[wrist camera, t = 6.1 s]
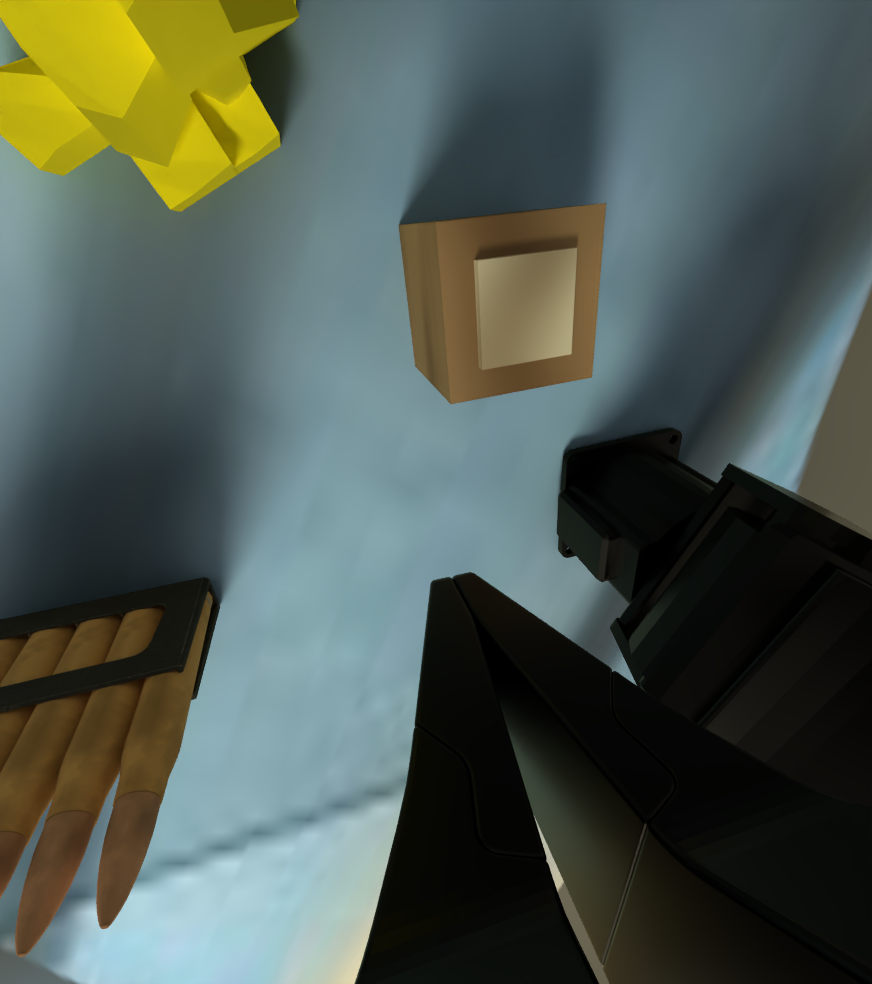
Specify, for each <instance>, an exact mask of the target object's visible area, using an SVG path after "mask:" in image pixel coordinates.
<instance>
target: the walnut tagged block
mask: <svg viewBox="0 0 872 984" xmlns="http://www.w3.org/2000/svg"><path fill="white" fill-rule="evenodd" d="M605 210H606V203H603V204H592V205H582V206H571V207H560V208H549V209H539V210H528V211H519V212H511V213H502V214H493V215H484V216H475V217H466V218H457V219H448V220H439V221H430V222H422V223H413V224H404V225H399V232H400V241H401V249H402V258H403V266H404V275H405V283H406V292H407V300H408V309H409V317H410V326H411V334H412V343H413V351H414V360H415V366H416V368H417V369H418V370H419V371H420V372H421V373H422V374H423V375H424V376H425V377H426V378H427V379H428V380H429V381H430V382H431V384H432V385H433V386H434V387H435V388H436V389H437V390H438V391H439V392H440V393H441V394H442V395H443V396H444V397H445V398H446V400H447V401H448V402H449V403H450V404H454V403H459V402H465V401H470V400H475V399H480V398H486V397H491V396H496V395H501V394H507V393H512V392H517V391H523V390H528V389H533V388H538V387H544V386H549V385H554V384H559V383H565V382H570V381H575V380H581V379H586V378H591V377H592V371H593V359H594V346H595V334H596V321H597V309H598V297H599V284H600V272H601V260H602V247H603V235H604V222H605Z"/></svg>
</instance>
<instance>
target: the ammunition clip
mask: <svg viewBox="0 0 872 984" xmlns="http://www.w3.org/2000/svg"><path fill="white" fill-rule="evenodd" d="M219 609H220V605H219V603H218V600H217V598H216V595H215V593H214V590H213V588H212V585H211V583H210V581H209V579H206V578H204V577H203V578H199V579H194V580H189V581H184V582H179V583H175V584H170V585H165V586H160V587H155V588H150V589H146V590H141V591H136V592H131V593H126V594H122V595H117V596H112V597H107V598H102V599H98V600H93V601H88V602H83V603H78V604H74V605H69V606H64V607H59V608H54V609H50V610H45V611H40V612H35V613H30V614H26V615H21V616H16V617H11V618H6V619H2V620H0V898H1V896H2V894H3V893H4V891H5V889H6V887H7V885H8V883H9V881H10V880H11V878H12V876H13V873H14V871H15V869H16V867H17V865H18V862H19V860H20V858H21V856H22V853H23V851H24V849H25V847H26V846H27V845H28V843H29V841H30V839H31V837H32V835H33V833H34V830H35V828H36V826H37V824H38V822H39V820H40V818H41V816H42V814H43V813H44V811H45V810H46V808H47V807H48V805H49V804H50V802H51V801H52V799H53V801H52V804H51V806H50V809H49V812H48V814H47V817H46V820H45V824H44V828H43V831H42V833H41V836H40V838H39V841H38V843H37V846H36V849H35V851H34V854H33V857H32V860H31V863H30V867H29V870H28V873H27V877H26V880H25V883H24V888H23V892H22V896H21V901H20V906H19V911H18V918H17V924H16V934H15V946H16V954H17V956H18V957H23V956H25V955H27V954H28V953H29V952H30V951H31V949H32V948H33V947H34V946H35V944H36V943H37V942H38V940H39V939H40V938H41V936H42V935H43V933H44V932H45V930H46V929H47V927H48V926H49V924H50V922H51V921H52V919H53V917H54V916H55V914H56V912H57V910H58V909H59V907H60V905H61V903H62V901H63V899H64V898H65V896H66V894H67V892H68V890H69V888H70V886H71V884H72V882H73V879H74V877H75V875H76V872H77V870H78V868H79V866H80V863H81V861H82V859H83V856H84V854H85V851H86V848H87V845H88V842H89V840H90V837H91V834H92V831H93V828H94V826H95V825H96V823H97V820H98V818H99V815H100V812H101V810H102V807H103V804H104V802H105V799H106V797H107V795H108V793H109V791H110V790H111V788H112V786H113V784H114V782H115V780H116V778H117V776H118V775H119V772H120V778H119V783H118V787H117V791H116V795H115V799H114V802H113V810H112V814H111V817H110V821H109V824H108V827H107V831H106V835H105V839H104V844H103V849H102V854H101V859H100V865H99V872H98V881H97V900H96V904H97V916H98V922H99V926H100V927H101V929H106V928H108V927H109V926H110V925H111V924H112V922H113V921H114V920H115V918H116V917H117V915H118V913H119V912H120V910H121V909H122V907H123V905H124V903H125V901H126V900H127V898H128V896H129V894H130V891H131V889H132V887H133V885H134V883H135V881H136V878H137V876H138V874H139V871H140V869H141V866H142V864H143V861H144V858H145V856H146V853H147V850H148V847H149V844H150V841H151V838H152V835H153V831H154V828H155V824H156V820H157V816H158V812H159V808H160V805H161V803H162V800H163V797H164V793H165V789H166V786H167V782H168V778H169V776H170V773H171V771H172V769H173V767H174V764H175V762H176V759H177V757H178V754H179V751H180V748H181V743H182V739H183V734H184V730H185V725H186V721H187V716H188V712H189V707H190V702H191V700H193V699H196V698H197V694H198V690H199V687H200V683H201V679H202V675H203V671H204V667H205V663H206V659H207V656H208V652H209V648H210V644H211V640H212V636H213V632H214V629H215V625H216V621H217V617H218V613H219Z"/></svg>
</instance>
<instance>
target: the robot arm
mask: <svg viewBox="0 0 872 984" xmlns="http://www.w3.org/2000/svg"><path fill="white" fill-rule="evenodd" d="M671 436H672V438H671ZM670 438H671V439H670ZM669 439H670V440H669ZM681 439H682V434H681V432H680V431H678V430H676V429H674V428H666V429H661V430H657V431H652V432H648V433H643V434H639V435H634V436H630V437H625V438H621V439H616V440H612V441H607V442H603V443H598V444H594V445H589V446H585V447H580V448H576V449H572V450H569V451H568V452H567V453H566V454H565V455H564V457H563V462H562V482H561V492H560V494H559V497H558V517H557V535H558V536H559V541H558V550H559V552H560V553H561V554H562V555H563V557H566V558H569V557H573V556H577V557H578V558H579V560H580V561H581V562H582V563H583V564H584V565H585V566H586V567H587V569H588V570H589V571H590V572H591V573H592V574H593V575H594V577H595V578H596V579H598V580H599V581H601V582H604V581H609V582H610V584H611V585H612V586H613V587H614V588H615V589H616V590H617V591H618V592H619V593H620V594H621V596H622V597H623V598H624V599H625V600H626V601H627V602H628V603H629V605H628V606H627V608H626V609H625V611H624V612H623V613H622V615H621V616H620V617H619V618H616V619H615V621H614V622H613V623H612V625H611V626H610V629H611V631H612V633H613V636H614V638H615V640H616V642H617V644H618V646H619V648H620V650H621V653H622V655H623V657H624V659H625V661H626V663H627V665H628V667H629V669H630V672H631V674H632V676H633V678H634V680H635V682H636V684H637V686H636V685H635V684H633V683H632V682H630V681H629V680H628V679H626V678H625V677H623V676H622V675H620V674H619V673H618V672H616V671H613V672H612V669H611V668H610V667H609V666H607V665H606V664H604V663H603V662H601V661H600V660H598V659H597V658H596V657H594V656H593V655H591V654H590V653H588V652H587V651H585V650H584V649H583V648H581V647H580V646H578V645H577V644H575V643H574V642H572V641H571V640H570V639H568V638H567V637H565V636H564V635H562V634H561V633H560V632H558V631H557V630H555V629H554V628H552V627H551V626H549V625H548V624H547V623H545V622H544V621H542V620H541V619H539V618H538V617H536V616H535V615H534V614H532V613H531V612H529V611H528V610H526V609H525V608H523V607H522V606H521V605H519V604H518V603H516V602H515V601H513V600H512V599H510V598H509V597H508V596H506V595H505V594H503V593H502V592H500V591H499V590H497V589H496V588H495V587H493V586H492V585H490V584H489V583H487V582H486V581H484V580H483V579H482V578H480V577H479V576H477V575H476V574H474V573H472V572H468V573H464V574H459V575H455V576H454V577H453V578H450V577H446V578H441V579H437V580H433V581H432V582H431V585H430V594H429V603H428V611H427V620H426V629H425V638H424V646H423V655H422V664H421V673H420V682H419V690H418V699H417V708H416V717H415V728H414V732H413V741H412V749H411V756H410V763H409V770H408V776H407V783H406V787H405V792H404V797H403V801H402V806H401V811H400V815H399V820H398V824H397V828H396V832H395V836H394V840H393V844H392V848H391V852H390V856H389V860H388V864H387V868H386V872H385V876H384V880H383V884H382V888H381V892H380V896H379V900H378V904H377V908H376V912H375V916H374V920H373V924H372V928H371V931H370V935H369V939H368V942H367V946H366V949H365V952H364V956H363V959H362V962H361V966H360V969H359V972H358V975H357V978H356V981H355V984H599V983H598V980H597V978H596V976H595V974H594V972H593V970H592V968H591V966H590V964H589V962H588V960H587V958H586V956H585V954H584V951H583V950H582V947H581V945H580V943H579V941H578V939H577V937H576V935H575V933H574V931H573V929H572V927H571V925H570V922H569V920H568V918H567V916H566V914H565V911H564V908H563V906H562V903H561V901H560V898H559V895H558V892H557V889H556V886H555V883H554V880H553V877H552V874H551V871H550V868H549V865H548V863H547V862H546V854H545V851H544V848H543V844H542V841H541V838H540V834H539V831H538V828H537V824H536V821H535V818H536V820H537V823H538V825H539V827H540V829H541V832H542V834H543V836H544V838H545V840H546V843H547V845H548V847H549V849H550V852H551V854H552V856H553V858H554V861H555V863H556V865H557V867H558V869H559V872H560V874H561V876H562V878H563V881H564V883H565V885H566V887H567V890H568V892H569V894H570V896H571V898H572V901H573V903H574V905H575V907H576V910H577V912H578V914H579V916H580V918H581V921H582V923H583V925H584V927H585V930H586V932H587V934H588V936H589V939H590V941H591V943H592V945H593V948H594V950H595V952H596V954H597V956H598V959H599V961H600V963H601V964H602V965H604V966H603V970H604V972H605V975H606V977H607V979H608V981H609V983H610V984H872V534H871V533H870V532H868V531H866V530H865V529H863V528H861V527H859V526H858V525H856V524H854V523H853V522H851V521H849V520H847V519H845V518H843V517H841V516H839V515H837V514H835V513H833V512H831V511H829V510H827V509H825V508H823V507H822V506H820V505H818V504H815V503H814V502H812V501H810V500H807V499H806V498H804V497H802V496H800V495H798V494H796V493H794V492H792V491H789V490H787V489H785V488H783V487H781V486H779V485H776V484H774V483H772V482H770V481H768V480H765V479H763V478H761V477H759V476H757V475H754V474H752V473H750V472H748V471H746V470H743V469H741V468H739V467H737V466H735V465H733V464H730V463H729V464H728V465H727V467H726V468H725V470H724V471H723V472H722V474H721V475H722V478H721V479H720V481H719V482H718V483H716V482H714V481H712V480H711V479H709V478H707V477H705V476H704V475H702V474H700V473H699V472H697V471H695V470H694V469H692V468H690V467H688V466H687V465H685V464H683V463H682V462H680V461H678V455H679V450H680V444H681ZM575 457H576V460H575V461H574V462H572V460H573V458H575ZM571 462H572V463H571ZM568 547H569V549H567V548H568ZM566 549H567V550H566ZM533 814H534V815H533ZM534 816H535V818H534Z"/></svg>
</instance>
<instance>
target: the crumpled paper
mask: <svg viewBox="0 0 872 984" xmlns="http://www.w3.org/2000/svg"><path fill="white" fill-rule="evenodd" d="M298 17H299V13H298V11H297V8H296V0H0V18H1V19H2V20H3V22H4V23H5V25H6V26H7V28H8V29H9V31H10V32H11V34H12V35H13V37H14V38H15V39H16V41H17V42H18V44H19V45H20V47H21V48H22V49H23V50H24V51H25V52H26V53H27V55H28V56H29V57H26V58H24V59H21V60H18V61H15V62H12V63H9V64H7V65H4V66H1V67H0V135H1V136H3V137H4V138H5V139H6V140H7V141H8V142H9V143H10V144H12V145H13V146H14V147H15V148H16V149H17V150H18V151H19V152H21V153H22V154H23V155H24V156H25V157H26V158H27V159H28V160H30V161H31V162H32V163H33V164H34V165H35V166H36V167H37V168H39V169H40V170H43V171H47V172H51V173H55V174H59V175H62V176H64V175H66V174H67V173H69V172H70V171H72V170H73V169H75V168H76V167H77V166H79V165H80V164H82V163H83V162H85V161H86V160H88V159H89V158H91V157H92V156H94V155H95V154H97V153H98V152H100V151H101V150H103V149H104V148H106V147H107V146H109V145H110V144H111V145H112V146H113V148H114V149H115V150H116V151H118V152H121V153H124V154H127V155H130V156H131V157H132V159H133V160H134V161H135V163H136V164H137V165H138V167H139V168H140V169H141V171H142V172H143V173H144V175H145V176H146V177H147V179H148V180H149V182H150V183H151V184H152V186H153V187H154V188H155V190H156V191H157V192H158V194H159V195H160V196H161V198H162V199H163V200H164V202H165V203H166V204H167V206H168V207H169V208H170V210H175V211H180V212H181V211H183V210H184V209H186V208H187V207H189V206H190V205H192V204H193V203H195V202H196V201H198V200H199V199H201V198H202V197H204V196H205V195H207V194H208V193H210V192H211V191H213V190H215V189H216V188H218V187H219V186H221V185H222V184H224V183H225V182H227V181H228V180H230V179H231V178H233V177H234V176H236V175H237V174H239V173H240V172H242V171H243V170H245V169H246V168H248V167H249V166H251V165H252V164H254V163H256V162H257V161H259V160H260V159H262V158H263V157H265V156H266V155H268V154H269V153H271V152H272V151H274V150H275V149H277V148H278V147H280V146H281V145H280V135H279V132H278V130H277V129H276V127H275V125H274V123H273V122H272V120H271V118H270V116H269V115H268V113H267V111H266V109H265V108H264V106H263V104H262V102H261V101H260V99H259V97H258V96H257V94H256V92H255V91H254V89H253V87H252V86H251V84H250V82H251V78H250V75H249V72H248V69H247V66H246V63H245V60H244V57H243V56H244V55H245V54H247V53H248V52H250V51H251V50H253V49H254V48H256V47H257V46H259V45H260V44H262V43H263V42H265V41H266V40H268V39H269V38H271V37H272V36H274V35H275V34H277V33H278V32H280V31H281V30H283V29H284V28H286V27H287V26H289V25H290V24H292V23H293V22H295V19H296V18H298Z"/></svg>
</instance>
